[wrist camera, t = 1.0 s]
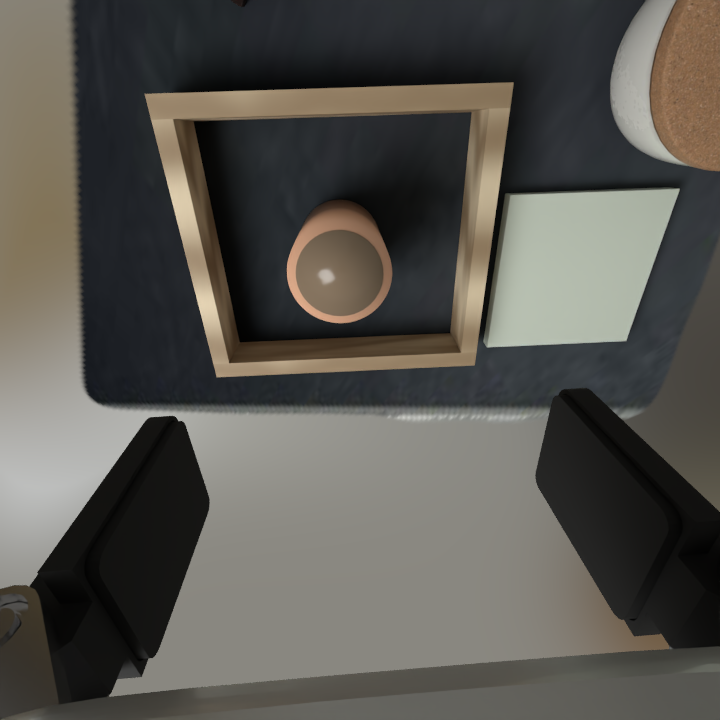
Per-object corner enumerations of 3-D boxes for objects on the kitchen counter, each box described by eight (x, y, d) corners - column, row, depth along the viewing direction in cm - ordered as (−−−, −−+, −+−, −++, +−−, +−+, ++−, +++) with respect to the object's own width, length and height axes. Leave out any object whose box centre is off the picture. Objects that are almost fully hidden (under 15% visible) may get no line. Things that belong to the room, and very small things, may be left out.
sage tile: (505, 193, 28) (510, 195, 27) (669, 187, 28) (679, 188, 27) (483, 341, 34) (487, 347, 33) (618, 335, 34) (626, 340, 33)
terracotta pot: (295, 201, 27) (280, 222, 20) (380, 198, 28) (393, 218, 21) (304, 282, 30) (293, 325, 23) (380, 279, 31) (391, 321, 24)
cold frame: (169, 99, 24) (144, 94, 21) (492, 89, 25) (513, 82, 22) (228, 355, 33) (216, 377, 30) (462, 344, 34) (474, 365, 31)
